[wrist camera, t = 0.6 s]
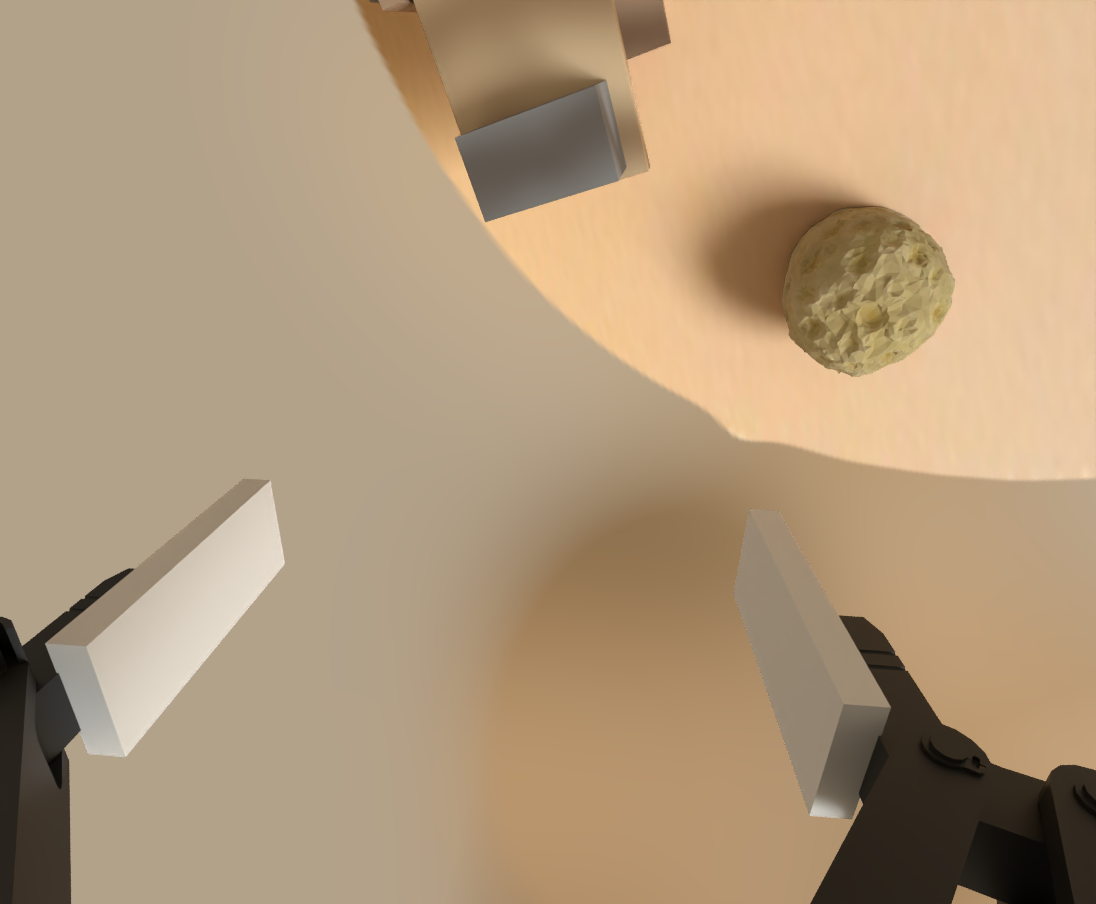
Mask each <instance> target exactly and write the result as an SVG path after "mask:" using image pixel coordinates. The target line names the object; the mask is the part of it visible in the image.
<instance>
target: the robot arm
mask: <svg viewBox="0 0 1096 904" xmlns="http://www.w3.org/2000/svg"><path fill="white" fill-rule="evenodd" d="M284 564H285V562H284V556H283V551H282V545H281V539H280V533H279V527H278V521H277V516H276V510H275V504H274V499H273V493H272V487H271V481H270V480H255V479H243V480H242V481H240V482H239V483H238V484H237V485H236V486H234V487H233V488H232V489H231V490H230V491H228V492H227V493H226V494H225V495H224V496H222V497H221V498H220V499H219V500H218V501H216V502H215V503H214V504H213V505H211V506H210V507H209V508H208V509H207V510H205V511H204V512H203V513H202V514H201V515H199V516H198V517H197V518H196V519H195V520H193V521H192V522H191V523H190V524H188V525H187V526H186V527H185V528H184V529H183V530H181V531H180V532H179V533H178V534H176V535H175V536H174V537H173V538H172V539H170V540H169V541H168V542H167V543H166V544H164V545H163V546H162V547H161V548H160V549H158V550H157V551H156V552H155V553H154V554H152V555H151V556H150V557H149V558H147V559H146V560H145V561H144V562H143V563H142V564H140V565H139V566H138V567H137V568H135V569H130V568H129V569H127V570H125V571H123V572H121V573H119V574H117V575H115V576H113V577H111V578H109V579H107V580H105V581H103V582H102V583H101V584H99V585H98V586H97V587H96V588H95V589H93V590H92V591H91V592H89V593H88V594H87V595H86V596H85V599H81V600H79V601H78V602H77V603H76V604H75V605H73V606H72V607H71V608H70V611H69V612H68V611H66V612H65V613H63V614H62V615H61V616H59V617H58V618H57V619H56V620H54V621H53V622H52V623H51V624H49V625H48V626H47V627H46V628H45V629H43V630H42V631H41V632H40V633H38V634H37V635H36V636H35V637H33V638H32V639H31V640H30V641H28V642H27V643H26V644H25V645H23V646H22V645H21V643H20V640H19V638H18V635H17V633H16V631H15V628H14V626H13V623H12V621H11V620H9V619H7V618H4V617H0V904H71V875H70V874H71V867H70V866H71V864H70V797H69V796H70V789H69V759H68V757H67V755H66V752H65V750H64V748H65V747H66V745H67V744H68V743H69V742H70V741H71V740H72V739H73V738H74V737H75V736H76V735H77V734H78V732H80V734H81V737H82V739H83V742H84V745H85V747H86V750H87V752H88V754H96V755H109V756H119V757H126V756H127V755H128V754H129V752H130V751H131V750H132V749H133V747H134V746H135V745H136V744H137V743H138V741H139V740H140V739H141V738H142V736H143V735H144V734H145V733H146V732H147V730H148V729H149V728H150V727H151V726H152V724H153V723H154V722H155V721H156V720H157V718H158V717H159V716H160V715H161V713H162V712H163V711H164V710H165V709H166V707H167V706H168V705H169V704H170V703H171V701H172V700H173V699H174V698H175V696H176V695H177V694H178V693H179V692H180V690H181V689H182V688H183V687H184V685H185V684H186V683H187V682H188V681H189V679H190V678H191V677H192V676H193V675H194V673H195V672H196V671H197V670H198V669H199V667H200V666H201V665H202V664H203V662H204V661H205V660H206V659H207V658H208V656H209V655H210V654H211V653H212V652H213V650H214V649H215V648H216V647H217V645H218V644H219V643H220V642H221V641H222V639H223V638H224V637H225V636H226V635H227V633H228V632H229V631H230V630H231V628H232V627H233V626H234V625H235V624H236V622H237V621H238V620H239V619H240V618H241V616H242V615H243V614H244V613H245V611H246V610H247V609H248V608H249V607H250V605H251V604H252V603H253V602H254V601H255V599H256V598H257V597H258V596H259V594H260V593H261V592H262V591H263V590H264V588H265V587H266V586H267V585H268V584H269V582H270V581H271V580H272V579H273V577H274V576H275V575H276V574H277V573H278V571H279V570H280V569H281V568H282V567H283V565H284ZM734 597H735V600H736V602H737V606H738V608H739V611H740V614H741V617H742V620H743V623H744V626H745V629H746V632H747V635H748V638H749V641H750V643H751V646H752V649H753V652H754V655H755V658H756V661H757V664H758V667H759V670H760V673H761V675H762V678H763V681H764V684H765V687H766V690H767V693H768V696H769V699H770V702H771V705H772V708H773V710H774V713H775V716H776V719H777V722H778V725H779V728H780V731H781V734H782V736H783V739H784V742H785V745H786V748H787V751H788V754H789V757H790V760H791V763H792V766H793V769H794V772H795V775H796V777H797V780H798V783H799V786H800V789H801V792H802V795H803V798H804V801H805V804H806V806H807V809H808V812H809V815H810V816H820V817H821V816H822V817H832V818H844V819H852V818H853V815H854V812H855V809H856V807H857V804H858V801H859V798H861V800H862V803H863V806H862V808H861V810H860V811H859V814H858V815H857V817H856V819H855V821H854V823H853V825H852V827H851V828H850V830H849V832H848V834H847V836H846V838H845V840H844V842H843V844H842V845H841V847H840V849H839V851H838V853H837V855H836V857H835V859H834V860H833V862H832V864H831V866H830V868H829V870H828V872H827V874H826V876H825V877H824V879H823V881H822V883H821V885H820V887H819V889H818V890H817V892H816V894H815V896H814V898H813V900H812V902H811V904H951V903H952V900H953V897H954V894H955V891H956V888H957V885H960V886H963V887H966V888H968V889H971V890H973V891H976V892H978V893H981V894H984V895H986V896H989V897H991V898H994V899H996V900H997V904H1096V771H1095V770H1093V769H1089V768H1085V767H1081V766H1077V765H1060V766H1058V767H1057V768H1055V769H1054V770H1052V771H1051V773H1050V775H1049V776H1048V778H1047V780H1046V781H1043V780H1039V779H1036V778H1033V777H1030V776H1027V775H1024V774H1020V773H1018V772H1014V771H1011V770H1008V769H1005V768H1002V767H1000V766H997V765H994V764H992V763H990V761H989V759H988V758H987V756H986V754H985V752H984V751H983V750H982V749H981V748H979V747H978V746H977V744H976V743H974V742H973V741H972V740H971V739H970V738H968V737H966V736H965V735H963V734H962V733H960V732H959V731H957V730H955V729H953V728H950V727H948V726H945V725H943V724H942V723H941V722H940V720H939V719H938V717H937V716H936V714H935V713H934V711H933V710H932V708H931V707H930V705H929V703H928V702H927V700H926V699H925V697H924V696H923V694H922V693H921V691H920V689H919V688H918V686H917V685H916V683H915V682H914V680H913V679H912V677H911V676H910V674H909V673H908V671H905V666H904V665H903V663H902V662H901V660H900V659H899V657H898V656H896V655H895V651H894V650H893V648H892V646H891V645H890V643H889V642H888V640H887V639H886V637H885V636H884V634H883V633H882V632H881V631H879V630H878V629H877V628H876V627H875V626H873V625H872V624H871V623H870V622H869V621H867V620H866V619H865V618H864V617H852V616H839V615H838V614H837V612H836V610H835V609H834V607H833V605H832V603H831V602H830V600H829V598H828V596H827V595H826V593H825V591H824V589H823V588H822V586H821V584H820V583H819V581H818V579H817V577H816V575H815V574H814V572H813V570H812V568H811V567H810V565H809V563H808V561H807V560H806V558H805V556H804V554H803V553H802V551H801V549H800V548H799V546H798V544H797V542H796V540H795V539H794V537H793V535H792V533H791V532H790V530H789V528H788V526H787V525H786V523H785V521H784V519H783V518H782V516H781V514H780V512H779V511H774V510H757V509H749V514H748V519H747V525H746V530H745V535H744V541H743V546H742V551H741V557H740V562H739V567H738V572H737V578H736V583H735V588H734Z"/></svg>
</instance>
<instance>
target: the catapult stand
mask: <svg viewBox="0 0 1096 904" xmlns="http://www.w3.org/2000/svg"><path fill="white" fill-rule="evenodd" d="M370 2H377V3H380V5H381V8H382V10H383V11H402V12H417V10H416V7H415V4H414V1H413V0H370ZM614 3H615V8H616V12H617V17H618V21H619V26H620V31H621V35H622V40H623V44H624V49H625V54H626V58H627V59H630V58H632V57H635V56H637V55H640V54H643V53H645V52H648V51H651V50H653V49H656V48H658V47H661V46H664V45H666V44H669V43H671V41H670V35H669V30H668V24H667V19H666V13H665V8H664V3H663V0H614Z"/></svg>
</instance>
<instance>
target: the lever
mask: <svg viewBox="0 0 1096 904" xmlns="http://www.w3.org/2000/svg"><path fill="white" fill-rule="evenodd" d="M413 1H414V4H415V7H416V10H417V12H418V15H419V18H420V21H421V24H422V26H423V29H424V32H425V35H426V38H427V40H428V43H429V46H430V49H431V52H432V54H433V57H434V60H435V63H436V66H437V69H438V71H439V74H440V77H441V80H442V83H443V85H444V88H445V91H446V94H447V97H448V99H449V102H450V105H451V108H452V111H453V114H454V116H455V119H456V122H457V125H458V128H459V130H460V133H461V136H458V137H456V138H455V140H456V142H457V145H458V148H459V151H460V154H461V156H462V159H463V162H464V165H465V167H466V170H467V173H468V176H469V178H470V181H471V184H472V187H473V189H474V192H475V195H476V198H477V201H478V203H479V206H480V209H481V212H482V214H483V217H484V220H485V222H487V221H491V220H494V219H497V218H500V217H504V216H507V215H510V214H513V213H516V212H520V211H523V210H526V209H529V208H533V207H536V206H539V205H542V204H545V203H549V202H552V201H555V200H558V199H561V198H565V197H568V196H571V195H574V194H578V193H581V192H584V191H587V190H590V189H594V188H597V187H600V186H603V185H607V184H610V183H613V182H616V181H619V180H621V179H625V178H628V177H631V176H634V175H638V174H641V173H644V172H647V171H649V168H650V164H649V159H648V155H647V150H646V145H645V141H644V136H643V132H642V127H641V123H640V118H639V113H638V109H637V104H636V100H635V95H634V90H633V86H632V81H631V77H630V72H629V67H628V63H627V58H626V54H625V49H624V44H623V40H622V35H621V31H620V26H619V21H618V17H617V12H616V8H615V3H614V0H413Z"/></svg>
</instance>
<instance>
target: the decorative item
mask: <svg viewBox="0 0 1096 904" xmlns="http://www.w3.org/2000/svg"><path fill="white" fill-rule="evenodd" d="M954 286H955V279H954V278H953V277H952V273H951V272H950V270H949V267H948V265H947V261H946V257H945V254H944V253H943V250H942V248H941V247H940V246H939V245H938V244H937V243H936V242H935V241H934V239H933V238H932V237H931V236H930V235H928V234H926V233H925V232H924V231H922V230H921V228H920V227H919V225H918V224H916V223H915V222H914V221H912V220H910V219H909V218H907V217H906V216H904V215H903V214H900V213H897V212H894V211H893V210H890V209H887V208H882V207H862V208H845V209H840V210H838V211H835V212H833V213H832V214H830V215H829V216H828V217H827V218H825V219H824V220H822V221H820V222H818V223H817V224H816V225H815V226H812V227H811V228H810V229H809V230H808V231H807V232H806V233H805V234H804V236H803V237H802V238H801V239H800V241H799V242H798V244H797V245H796V247H795V249H794V250H793V252H792V254H791V259H790V262H789V266H788V271H787V274H786V276H785V283H784V287H783V293H782V308H783V312H784V315H785V317H786V321H787V324H788V327H789V336H790V338H791V339H792V340H793V341H794V342H795V344H797V345H798V346H799V347H800V348H802V349H803V350H804V352H807V353H808V354H809V355H810V356H811V357H812V358H813V359H814V360H816V361H817V362H818V363H820V364H821V365H823V366H824V367H825V368H827V369H834V370H837V371H838V373H840V372H843V373H846V374H849V375H850V376H852V377H859V376H862V375H864V374H871V373H873V372H875V371H877V370H879V369H881V368H883V367H885V366H887V365H889V364H892V363H896V362H898V361H901V360H903V359H904V358H905V357H907V356H908V355H910V354H911V353H912V352H914V351H915V350H916V349H918V348H919V347H920V346H921V345H922V344H923V343H924V342H925V341H927V340H928V339H929V338H930V337H931V336H932V335H934V333H935V331H936V329H937V328H938V326H939V325H940V324H941V323H942V321H943V320H944V318H945V316H946V314H947V312H948V310H949V309H950V307H951V303H952V298H951V295H952V293H953V291H954Z"/></svg>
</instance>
